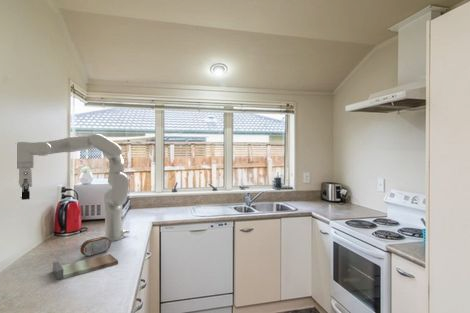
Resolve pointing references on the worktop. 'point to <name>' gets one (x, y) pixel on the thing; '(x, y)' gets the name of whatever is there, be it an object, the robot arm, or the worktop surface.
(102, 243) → the tin
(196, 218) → the worktop surface
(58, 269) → the bracket
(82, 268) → the mounting board
